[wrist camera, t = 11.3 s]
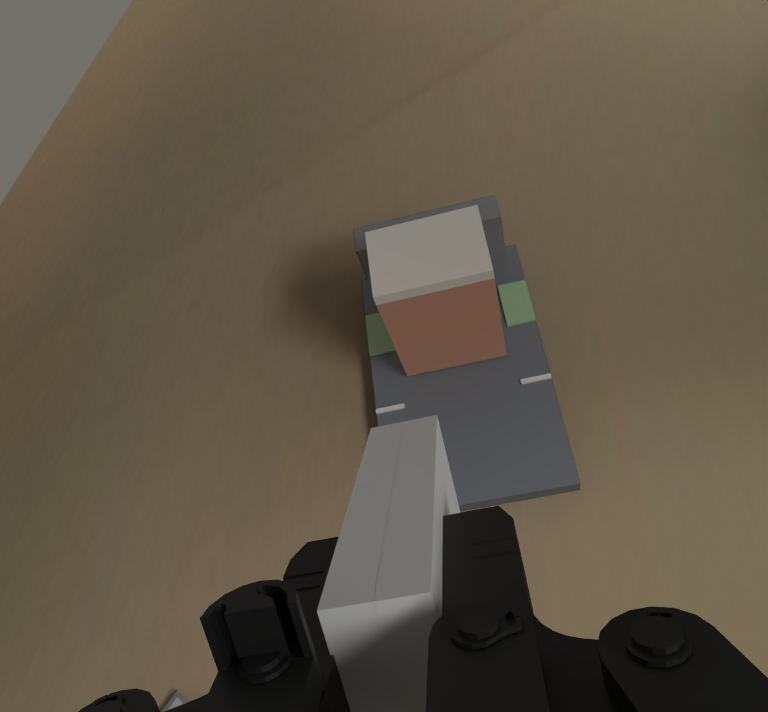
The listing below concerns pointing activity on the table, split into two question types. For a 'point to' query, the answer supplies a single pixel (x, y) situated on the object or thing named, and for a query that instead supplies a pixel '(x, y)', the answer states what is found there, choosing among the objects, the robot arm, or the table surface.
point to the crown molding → (175, 701)
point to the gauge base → (481, 389)
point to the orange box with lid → (437, 290)
